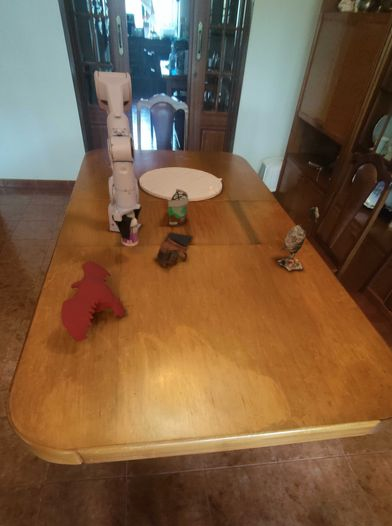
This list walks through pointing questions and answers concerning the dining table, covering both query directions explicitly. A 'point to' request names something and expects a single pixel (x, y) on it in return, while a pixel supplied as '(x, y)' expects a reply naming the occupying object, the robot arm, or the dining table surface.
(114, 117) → the robot arm
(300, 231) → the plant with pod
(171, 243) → the pottery mug
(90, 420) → the dining table surface
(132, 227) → the pill bottle
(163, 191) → the lazy susan
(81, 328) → the red lobster claw
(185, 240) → the coaster
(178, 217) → the food container
